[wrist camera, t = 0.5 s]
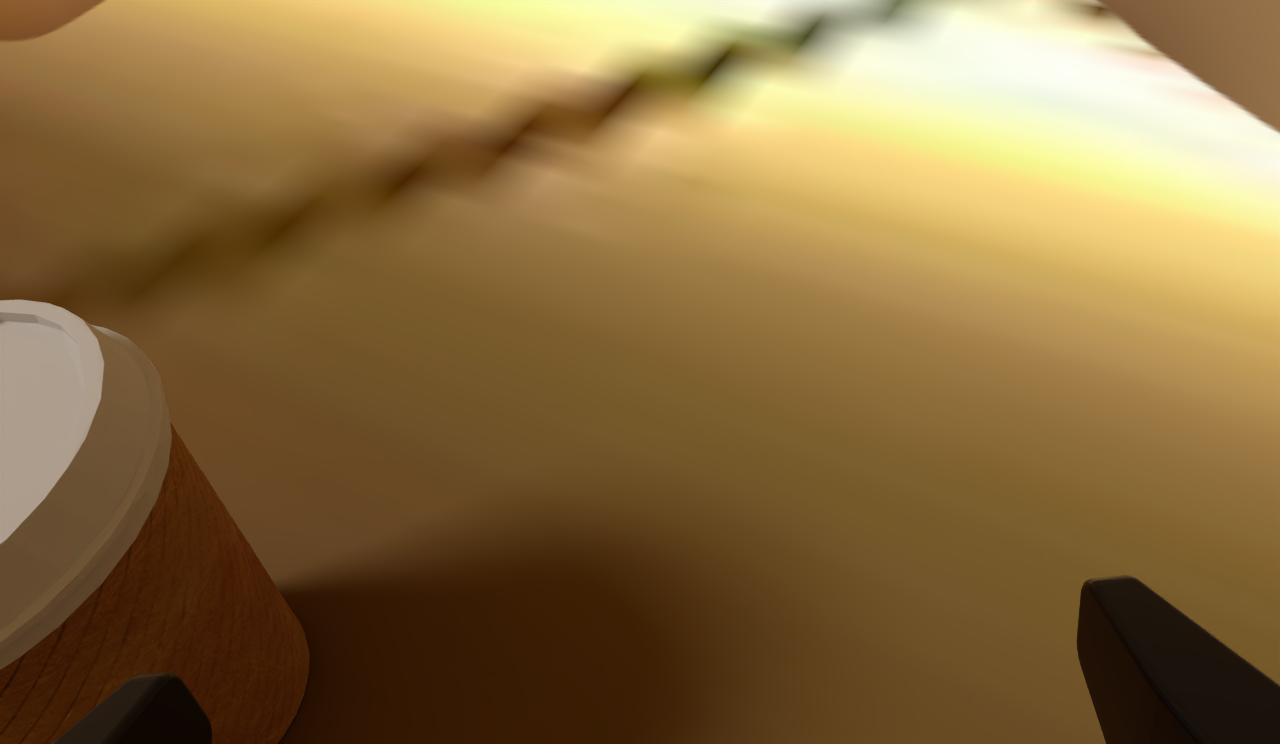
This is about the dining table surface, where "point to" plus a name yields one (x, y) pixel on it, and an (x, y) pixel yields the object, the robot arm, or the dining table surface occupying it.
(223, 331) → the dining table surface
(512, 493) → the dining table surface
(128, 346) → the disposable coffee cup
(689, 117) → the dining table surface
